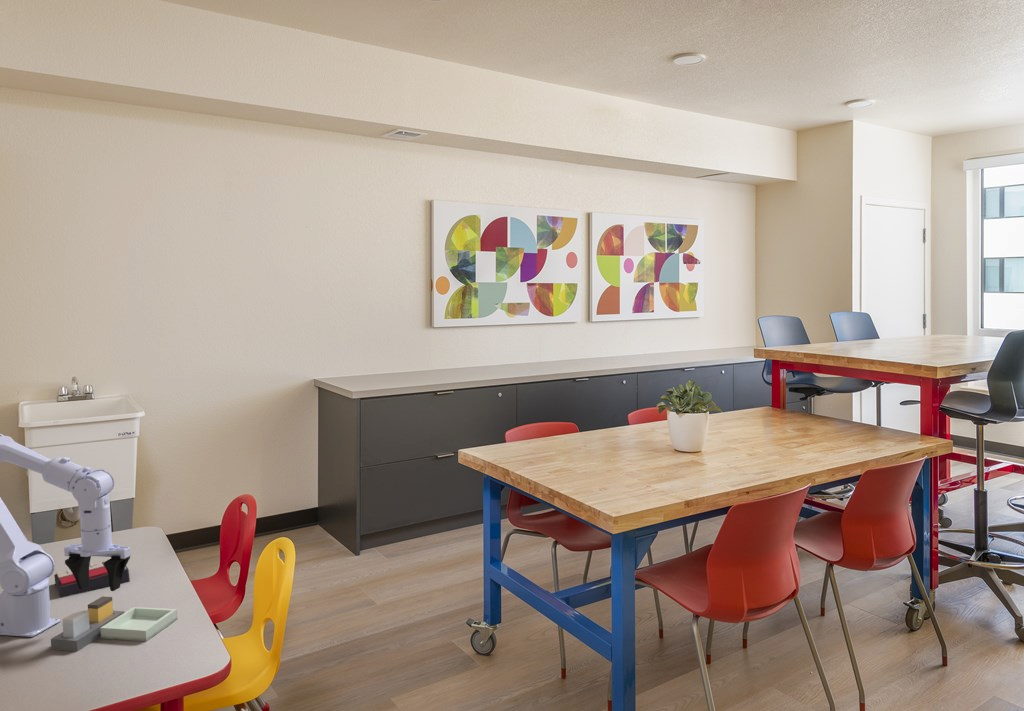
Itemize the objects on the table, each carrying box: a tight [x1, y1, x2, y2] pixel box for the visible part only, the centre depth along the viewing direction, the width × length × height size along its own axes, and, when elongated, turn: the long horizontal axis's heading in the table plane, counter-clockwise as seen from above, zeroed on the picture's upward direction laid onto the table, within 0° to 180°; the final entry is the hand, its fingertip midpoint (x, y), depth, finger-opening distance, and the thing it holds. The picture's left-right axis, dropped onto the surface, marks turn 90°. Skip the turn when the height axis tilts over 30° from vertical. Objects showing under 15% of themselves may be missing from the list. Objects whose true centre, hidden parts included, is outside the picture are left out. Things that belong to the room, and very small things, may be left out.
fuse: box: [61, 609, 90, 638], centre depth 148 cm, size 2×4×6 cm, turn 171°
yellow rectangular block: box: [87, 595, 114, 623], centre depth 155 cm, size 2×4×6 cm, turn 171°
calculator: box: [53, 559, 131, 598], centre depth 180 cm, size 11×4×15 cm
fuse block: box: [50, 610, 125, 652], centre depth 151 cm, size 6×14×2 cm, turn 171°
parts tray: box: [100, 606, 178, 642], centre depth 154 cm, size 11×11×2 cm
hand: (99, 588), depth 154 cm, fingers open, 7 cm apart
